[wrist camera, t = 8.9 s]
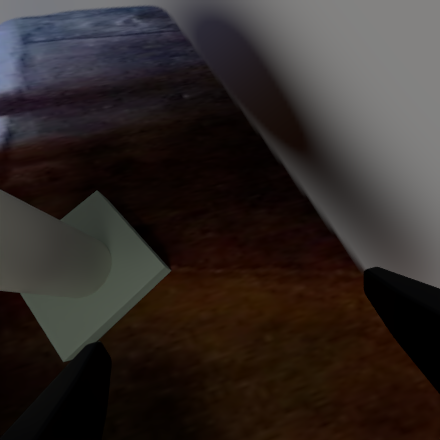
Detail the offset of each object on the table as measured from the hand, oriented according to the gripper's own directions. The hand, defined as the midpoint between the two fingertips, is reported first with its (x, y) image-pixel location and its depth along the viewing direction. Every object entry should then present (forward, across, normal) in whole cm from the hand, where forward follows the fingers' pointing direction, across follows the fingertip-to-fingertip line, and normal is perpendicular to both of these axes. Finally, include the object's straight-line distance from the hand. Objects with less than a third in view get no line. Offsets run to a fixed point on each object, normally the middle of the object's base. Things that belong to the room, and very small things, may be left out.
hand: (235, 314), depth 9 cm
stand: (+14, +12, +5) cm, 19 cm away
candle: (+13, +12, +3) cm, 18 cm away
